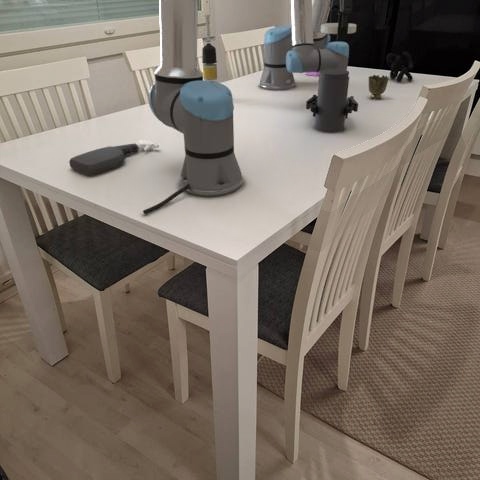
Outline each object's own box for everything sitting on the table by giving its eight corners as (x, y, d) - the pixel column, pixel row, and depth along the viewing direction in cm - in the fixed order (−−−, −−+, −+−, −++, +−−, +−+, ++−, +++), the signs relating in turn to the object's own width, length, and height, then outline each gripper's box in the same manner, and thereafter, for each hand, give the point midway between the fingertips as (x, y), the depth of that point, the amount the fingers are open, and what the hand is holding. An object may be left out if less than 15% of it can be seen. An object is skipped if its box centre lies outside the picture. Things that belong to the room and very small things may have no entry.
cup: (363, 99, 174) (366, 77, 170) (368, 94, 179) (371, 73, 175) (383, 101, 171) (386, 79, 167) (387, 96, 176) (390, 75, 172)
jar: (318, 133, 141) (323, 75, 132) (312, 124, 149) (316, 68, 140) (346, 132, 142) (353, 74, 132) (339, 123, 149) (345, 68, 140)
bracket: (316, 75, 210) (317, 60, 207) (306, 74, 213) (306, 59, 209) (329, 71, 219) (330, 55, 215) (319, 69, 222) (320, 54, 218)
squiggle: (400, 92, 202) (376, 71, 205) (417, 76, 202) (392, 56, 205) (405, 81, 191) (380, 59, 194) (423, 64, 191) (397, 42, 194)
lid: (362, 31, 130) (363, 24, 129) (343, 35, 124) (344, 28, 123) (333, 28, 136) (333, 22, 135) (313, 32, 130) (313, 25, 129)
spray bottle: (67, 168, 120) (139, 144, 136) (91, 178, 114) (163, 151, 130) (65, 157, 118) (137, 134, 134) (89, 167, 112) (162, 142, 128)
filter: (220, 99, 177) (217, 15, 161) (206, 100, 176) (202, 16, 160) (215, 96, 182) (212, 14, 166) (202, 97, 180) (197, 14, 164)
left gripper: (372, -55, 109) (360, 43, 121) (349, -53, 128) (341, 32, 140) (341, -55, 109) (333, 43, 121) (323, -52, 128) (317, 32, 140)
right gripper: (364, 107, 157) (365, 126, 138) (301, 104, 161) (294, 123, 142) (367, 85, 153) (368, 102, 134) (303, 82, 157) (295, 99, 138)
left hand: (337, 37), depth 130 cm, fingers closed on lid, 10 cm apart
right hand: (330, 113), depth 138 cm, fingers closed on jar, 9 cm apart
